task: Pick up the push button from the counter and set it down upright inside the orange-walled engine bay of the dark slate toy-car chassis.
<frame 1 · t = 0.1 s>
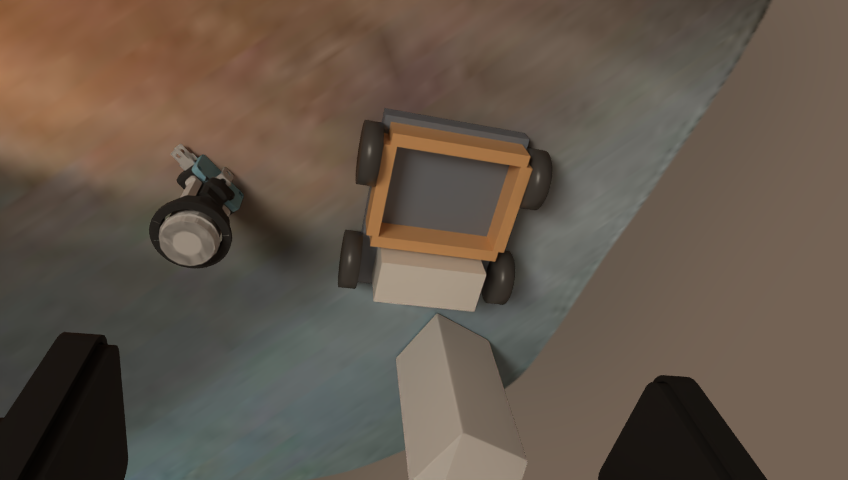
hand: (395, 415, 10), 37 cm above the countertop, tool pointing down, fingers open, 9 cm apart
milk carton: (441, 346, 59), on the countertop
push button: (211, 173, 46), on the countertop
chassis: (434, 206, 50), on the countertop
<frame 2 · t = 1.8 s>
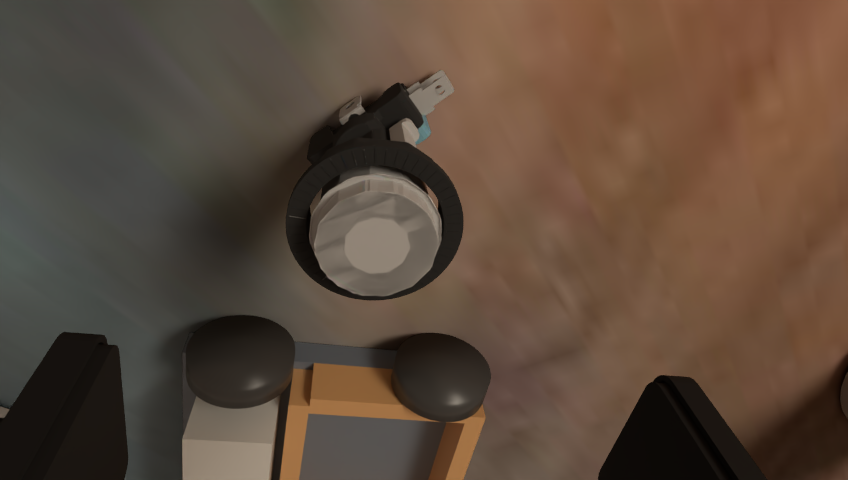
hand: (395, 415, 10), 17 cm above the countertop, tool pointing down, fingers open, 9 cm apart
push button: (382, 118, 25), on the countertop
chassis: (330, 421, 34), on the countertop
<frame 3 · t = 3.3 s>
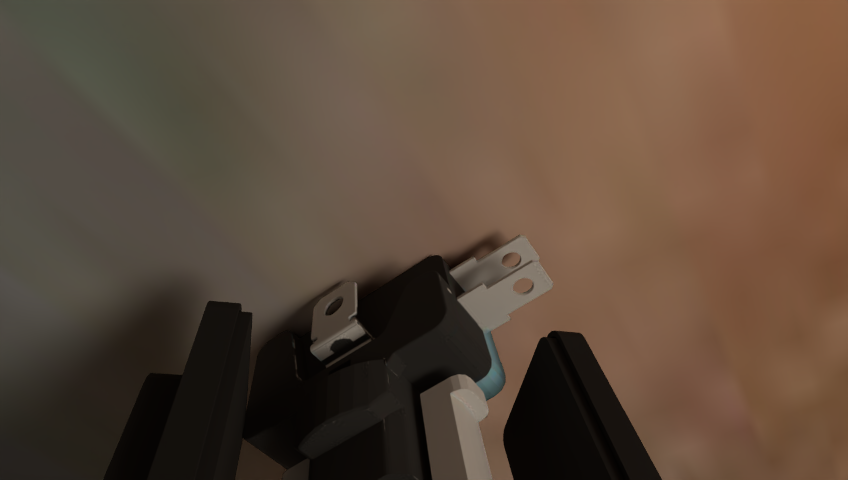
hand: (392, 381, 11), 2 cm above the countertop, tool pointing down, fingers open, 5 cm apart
push button: (397, 308, 13), on the countertop, touching gripper
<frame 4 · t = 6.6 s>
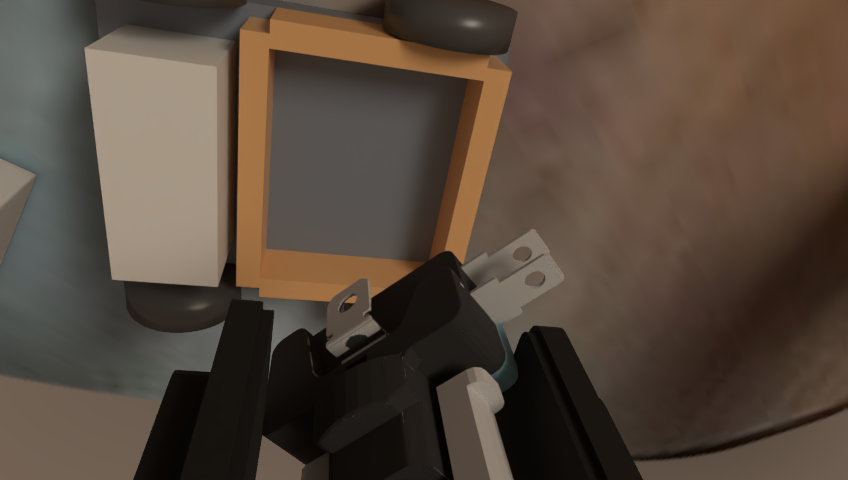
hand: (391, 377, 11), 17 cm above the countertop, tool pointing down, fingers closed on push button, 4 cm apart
push button: (409, 304, 13), point 15 cm above the countertop, touching gripper
chassis: (307, 143, 26), on the countertop
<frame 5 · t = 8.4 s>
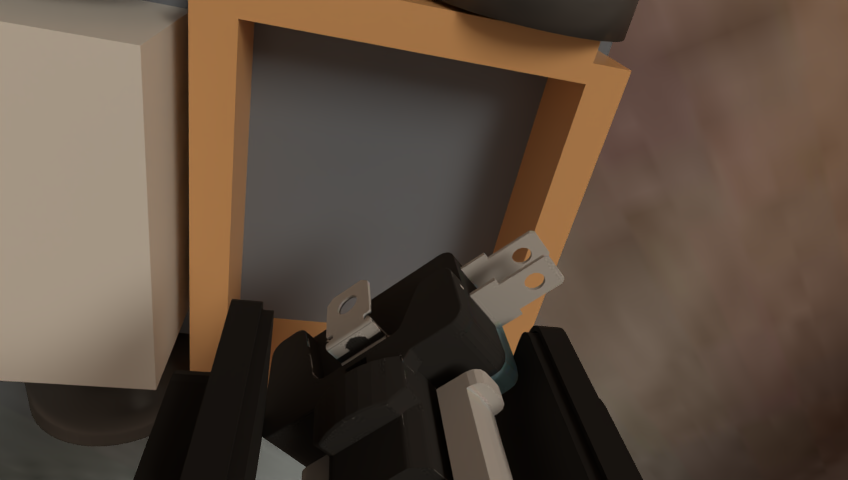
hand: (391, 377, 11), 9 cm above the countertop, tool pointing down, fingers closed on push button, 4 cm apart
push button: (409, 305, 13), point 7 cm above the countertop, touching gripper
chassis: (302, 167, 18), on the countertop
when the fingers open (5 cm above the countertop, at t = 9.6 s): push button drops 1 cm, resting on chassis.
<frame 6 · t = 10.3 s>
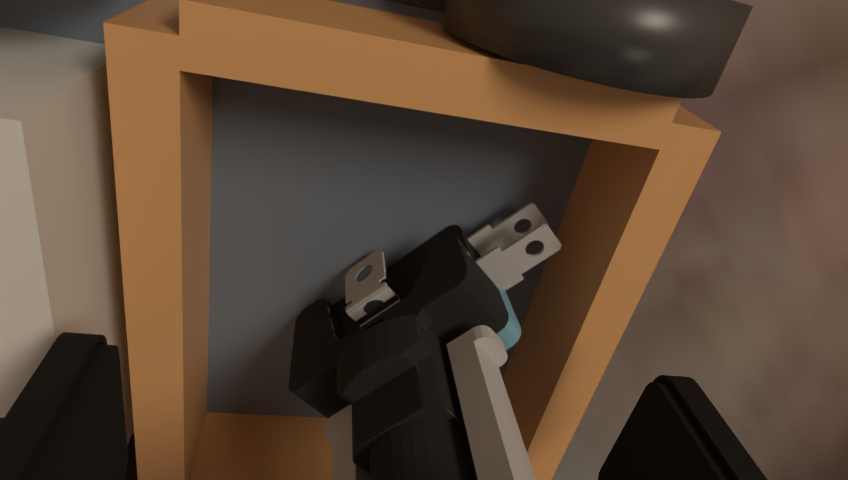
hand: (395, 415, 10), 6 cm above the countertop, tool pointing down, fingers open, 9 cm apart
push button: (420, 275, 14), point 1 cm above the countertop, touching chassis
chassis: (282, 234, 14), on the countertop
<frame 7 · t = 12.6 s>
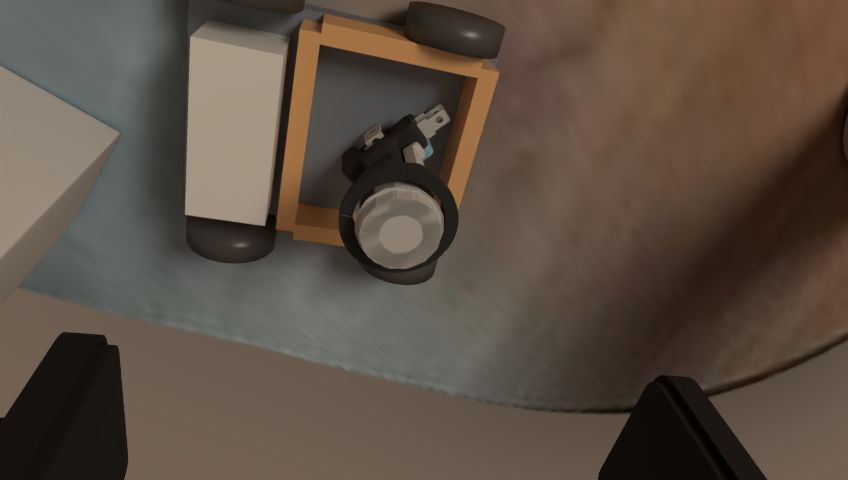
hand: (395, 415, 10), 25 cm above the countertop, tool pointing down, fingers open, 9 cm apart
milk carton: (35, 143, 32), on the countertop
push button: (395, 139, 32), point 1 cm above the countertop, touching chassis
chassis: (336, 121, 33), on the countertop
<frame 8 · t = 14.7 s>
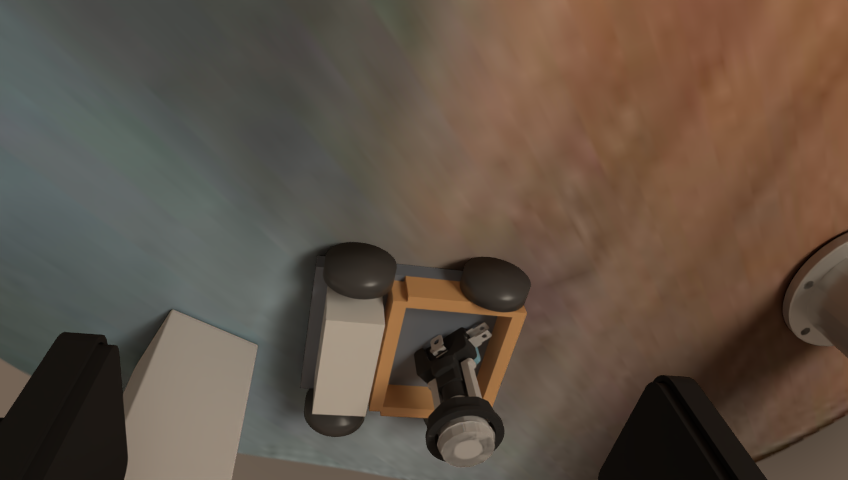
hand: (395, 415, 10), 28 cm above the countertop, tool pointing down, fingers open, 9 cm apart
milk carton: (197, 353, 45), on the countertop
push button: (451, 340, 45), point 1 cm above the countertop, touching chassis
chassis: (408, 327, 46), on the countertop
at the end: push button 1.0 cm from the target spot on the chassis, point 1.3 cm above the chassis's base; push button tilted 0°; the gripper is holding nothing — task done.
